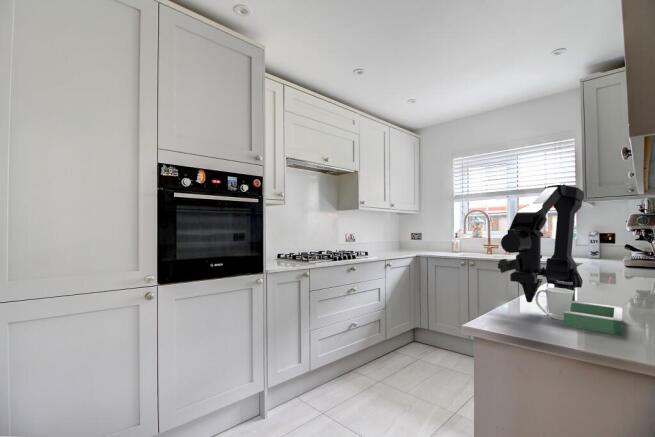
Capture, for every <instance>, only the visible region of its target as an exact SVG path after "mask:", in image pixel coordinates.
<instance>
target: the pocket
mask: <svg viewBox="0 0 655 437" xmlns="http://www.w3.org/2000/svg"><path fill="white" fill-rule="evenodd" d="M563 313H564V320H563V326H566V327H572V328H576V329H577V328H578V329H583V330H589V331H593V332H599V333H605V334H610V335H611V334H612V335H617V336H622V335H623V307H622V306H615V305H614V306H613V305H607V304H599V303H594V302H593V303H591V302H584V301H578V300H575V301H572V303H571V308H570V311H564V312H563Z"/></svg>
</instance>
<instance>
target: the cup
mask: <svg viewBox="0 0 655 437" xmlns="http://www.w3.org/2000/svg"><path fill="white" fill-rule="evenodd" d="M541 293H545V295H546V301H547V303H546V304H547V307H548V310H549V311H547V310H546V309H545V308H544V307H543V306H541V304H540V302H539V296H540V294H541ZM573 293H574V291H572V290H568V289H563V288H554V287H545V289H541V290H539V291H537V292H536V294H535V304H536V305H537V307H538V308H539V309H540V310H541V311H542V312H543V313H544V314H545V315H548V316H549V317H550V318H552V319H556V320H560V321H561V320H562V321H564V313H563V312H564V311H571V309H570V308H571V303H572V298H573Z"/></svg>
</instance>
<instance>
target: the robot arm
mask: <svg viewBox="0 0 655 437" xmlns="http://www.w3.org/2000/svg"><path fill="white" fill-rule="evenodd" d="M584 199H585V193H584V191H583V190H582V189H580V187H577V186H576V187H575V186H570V185H566V184H564V183H553V184H548V185H545V186H544V189H543V191H542V192H540V194H539V195H538V197H537V198H536V199H535V200H534V201H533V202H532V203H531V204H530V205H529V206H528V205H527V206H526V207H523V208H521V209H520V210H518V211H517V212H516V213H515V215H514V217H513V219H512V221H511V224H510V226H509V228H508V229H507V233H506V234H504V235H503V236H502V237H501V240H500V245H501V247H502V249H503V251H505V252H506V253H509V254H513V253H516V255H515V258H513V259H507V258H502V259H499V262H498V263H497V268H498V269H499V270H500V273H502V274H505V273H506V272H508V271H509V272H510V271H513V270H515V271H513V272H512V273H510V275H509V279H510V281H511V282H516V283H519V284H520V285H521V287H522V289H523V293H524V297H525V299H526V300H525V301H526V302H527V303H532V302H533V300H534V298H535V297H536V294H537V293H538V290H539V289H540V286H541V284H542V283H543V281H544V279H543V278H546V283H547V284H552V285H553V288H563V289H568V290H572V291H574V293H573V298H572V301H576V288H578V289H579V288H580V289H581V288H582V287H583V280H584V279H583V278H582V277H581V275H580V273H579V270H578V267H577V266H578V265H577V263H576V261H575V260H574V259H573V257H572V254H573V253H572V252H573V244H574V243H573V239H574V228H575V216H576V213H577V212H578V211H579V210H580V209H581V208H582V205H583V201H584ZM552 208H554V209H555V211H556V212H557V215H556V226H555V239H554V251H553V254H552V256H551V257H547V259H546V266H545V267H544V266H542V264H541V261H542V260H541V259H543V254H541V253H542V252H541V251H542V250H541V249H542V248H541V244H542V241H541V240H542V238H541V237H544V233H543V232H541V230H542V229H543V228H544V226H545V224H546V222H548V219H547V217H546V215H547V214H548V212H549V211H550V210H551V209H552ZM538 276H541V277H543V278H538Z"/></svg>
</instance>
